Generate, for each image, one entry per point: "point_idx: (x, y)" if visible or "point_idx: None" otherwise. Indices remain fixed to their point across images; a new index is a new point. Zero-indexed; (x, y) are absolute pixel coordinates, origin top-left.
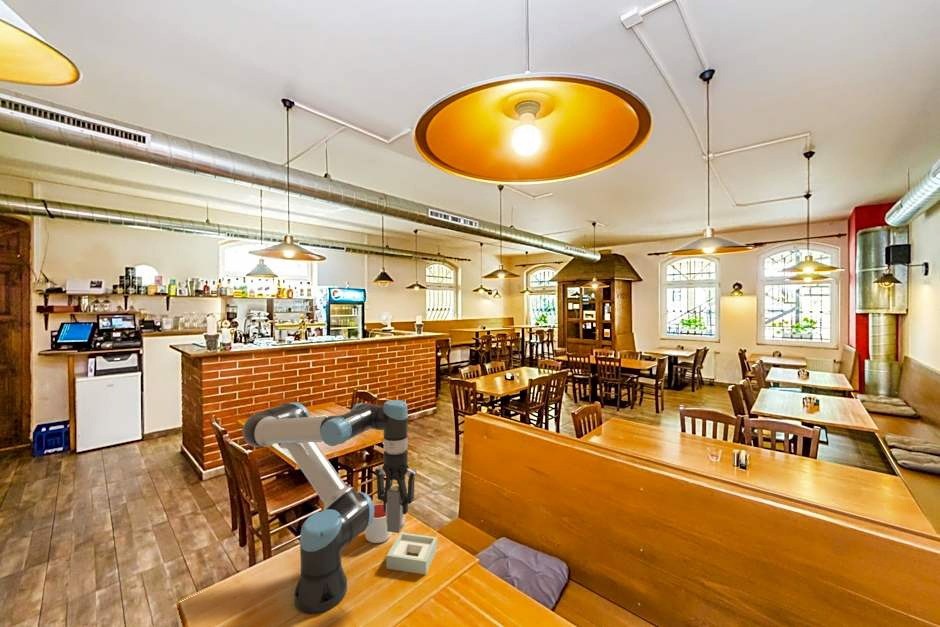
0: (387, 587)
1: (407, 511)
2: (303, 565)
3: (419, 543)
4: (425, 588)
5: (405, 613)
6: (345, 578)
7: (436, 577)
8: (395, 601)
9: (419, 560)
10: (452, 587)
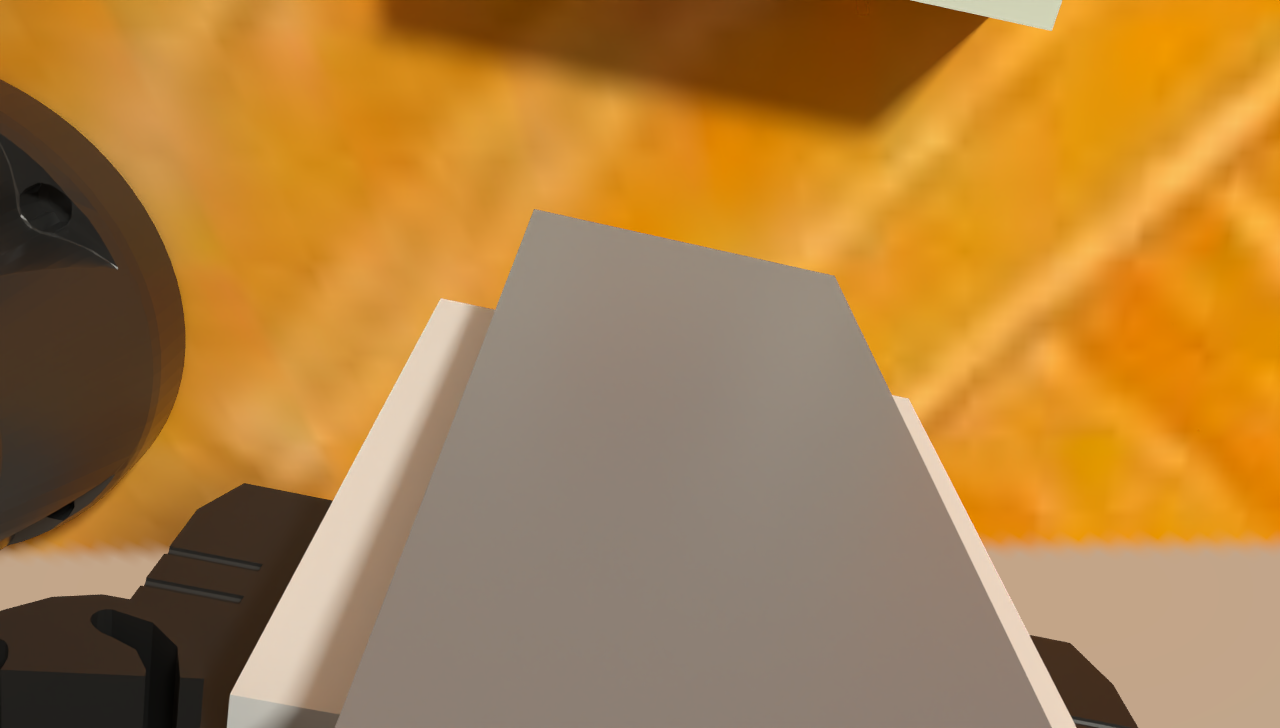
0: (579, 208)
1: (1084, 675)
2: None
3: None
4: (985, 217)
5: None
6: (95, 288)
7: (1117, 52)
8: None
9: (959, 9)
10: (1277, 200)
